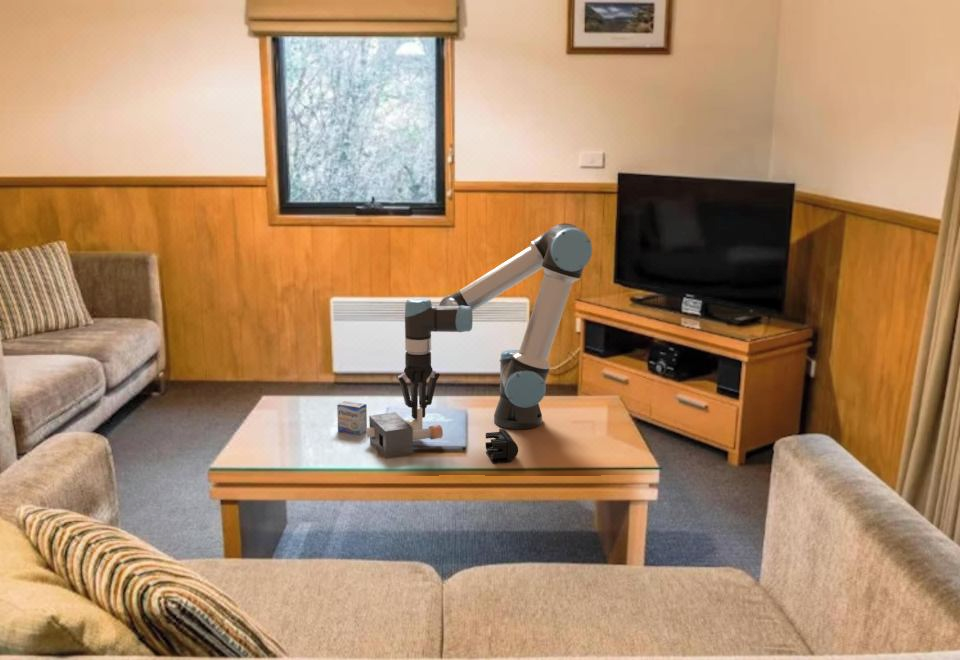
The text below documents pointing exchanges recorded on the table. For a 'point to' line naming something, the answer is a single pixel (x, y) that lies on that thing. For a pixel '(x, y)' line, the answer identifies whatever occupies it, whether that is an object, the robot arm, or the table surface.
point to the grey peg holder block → (391, 435)
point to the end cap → (501, 447)
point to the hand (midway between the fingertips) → (418, 428)
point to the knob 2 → (428, 433)
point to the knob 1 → (413, 423)
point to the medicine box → (352, 417)
